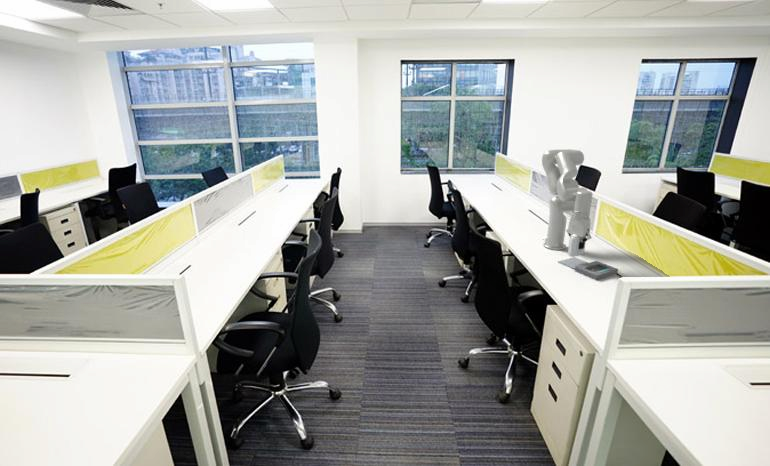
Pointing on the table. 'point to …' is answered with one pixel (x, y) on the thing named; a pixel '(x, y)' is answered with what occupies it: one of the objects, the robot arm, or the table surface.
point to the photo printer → (575, 246)
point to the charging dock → (596, 275)
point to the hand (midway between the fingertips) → (576, 246)
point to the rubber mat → (572, 262)
